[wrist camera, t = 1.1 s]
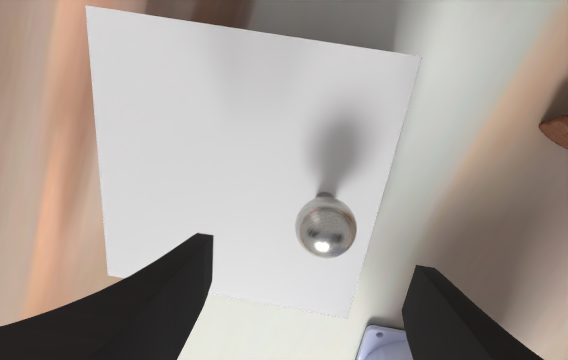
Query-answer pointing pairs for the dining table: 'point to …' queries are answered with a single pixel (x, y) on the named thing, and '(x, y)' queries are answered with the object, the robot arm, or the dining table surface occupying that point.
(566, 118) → the brown jagged hollow piece
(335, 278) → the lid
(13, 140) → the dining table surface
